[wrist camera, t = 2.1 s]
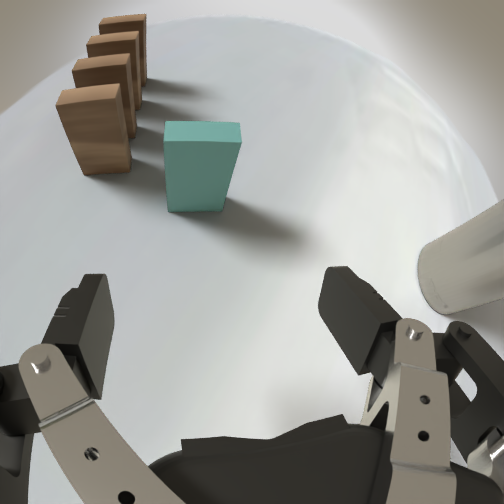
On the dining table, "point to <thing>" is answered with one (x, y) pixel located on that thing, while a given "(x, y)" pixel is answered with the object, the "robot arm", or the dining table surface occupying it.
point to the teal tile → (199, 163)
